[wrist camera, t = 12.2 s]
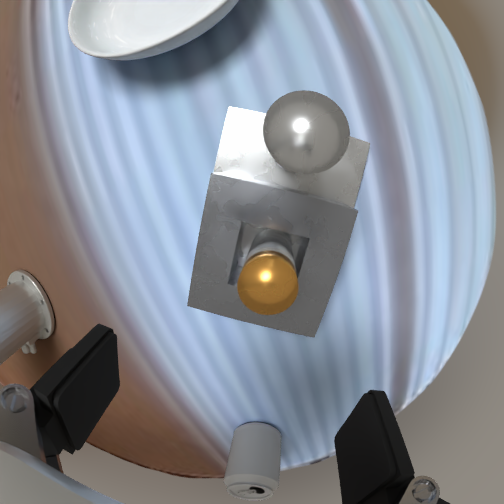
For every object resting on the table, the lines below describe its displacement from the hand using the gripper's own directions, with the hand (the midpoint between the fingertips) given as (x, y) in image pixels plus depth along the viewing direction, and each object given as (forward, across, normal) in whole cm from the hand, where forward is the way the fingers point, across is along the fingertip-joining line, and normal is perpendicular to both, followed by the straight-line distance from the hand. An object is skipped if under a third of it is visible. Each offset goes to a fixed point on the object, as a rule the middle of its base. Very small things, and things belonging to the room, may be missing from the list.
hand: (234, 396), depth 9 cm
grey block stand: (+21, -1, -3) cm, 21 cm away
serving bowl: (+21, +17, -26) cm, 38 cm away
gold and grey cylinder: (+20, -1, 0) cm, 20 cm away
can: (+21, -7, +30) cm, 37 cm away
